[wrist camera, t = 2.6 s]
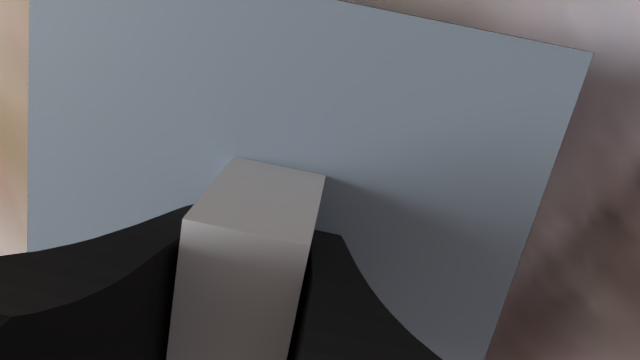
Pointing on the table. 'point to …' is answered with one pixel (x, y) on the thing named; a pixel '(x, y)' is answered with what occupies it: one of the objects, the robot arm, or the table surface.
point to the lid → (297, 155)
